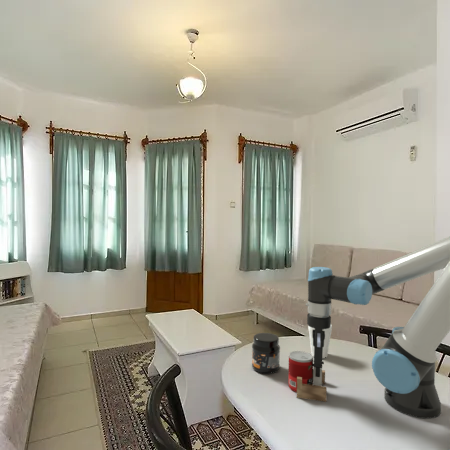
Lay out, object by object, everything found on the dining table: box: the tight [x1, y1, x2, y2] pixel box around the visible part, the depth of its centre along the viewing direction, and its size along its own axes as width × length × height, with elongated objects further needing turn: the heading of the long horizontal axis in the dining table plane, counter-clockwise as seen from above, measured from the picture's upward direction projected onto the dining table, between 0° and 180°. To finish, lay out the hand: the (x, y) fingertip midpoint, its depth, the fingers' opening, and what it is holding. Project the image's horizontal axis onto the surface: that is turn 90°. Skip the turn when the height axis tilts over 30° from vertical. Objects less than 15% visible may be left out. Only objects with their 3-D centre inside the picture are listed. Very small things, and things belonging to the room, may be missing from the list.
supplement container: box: [251, 332, 281, 375], centre depth 124 cm, size 10×10×12 cm
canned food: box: [287, 350, 314, 393], centre depth 110 cm, size 8×8×11 cm
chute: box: [296, 369, 327, 403], centre depth 109 cm, size 9×13×6 cm
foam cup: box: [307, 324, 333, 359], centre depth 136 cm, size 10×9×13 cm
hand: (317, 384), depth 108 cm, fingers closed
